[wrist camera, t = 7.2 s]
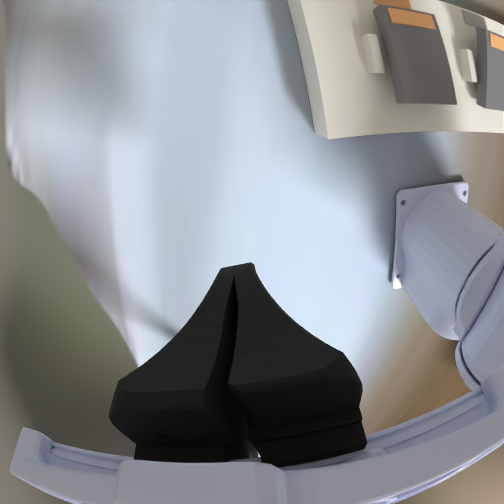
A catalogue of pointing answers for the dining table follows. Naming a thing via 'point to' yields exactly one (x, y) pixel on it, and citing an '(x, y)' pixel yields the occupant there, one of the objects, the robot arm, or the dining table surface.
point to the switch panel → (384, 69)
